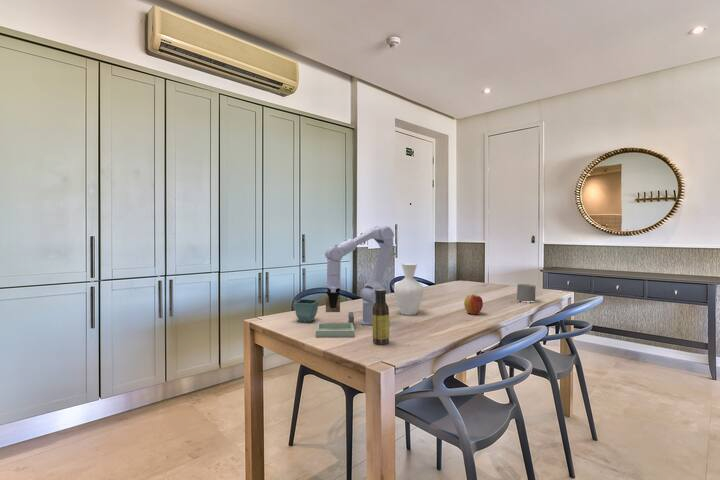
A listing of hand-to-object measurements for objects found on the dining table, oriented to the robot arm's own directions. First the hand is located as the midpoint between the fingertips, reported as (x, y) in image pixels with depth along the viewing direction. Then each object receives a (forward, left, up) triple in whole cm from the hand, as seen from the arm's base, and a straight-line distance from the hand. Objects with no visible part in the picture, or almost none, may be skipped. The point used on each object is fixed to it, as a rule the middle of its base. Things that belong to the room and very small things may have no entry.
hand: (333, 306), depth 159 cm
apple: (-71, -24, -9) cm, 75 cm away
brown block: (0, 0, -2) cm, 2 cm away
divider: (-8, -3, -9) cm, 12 cm away
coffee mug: (-117, -56, -9) cm, 130 cm away
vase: (-38, -25, -9) cm, 46 cm away
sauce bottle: (-18, +22, -9) cm, 30 cm away
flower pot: (+12, -11, -9) cm, 19 cm away
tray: (-1, +9, -9) cm, 12 cm away
